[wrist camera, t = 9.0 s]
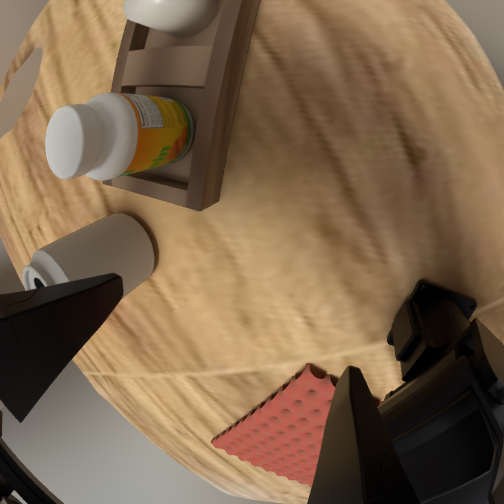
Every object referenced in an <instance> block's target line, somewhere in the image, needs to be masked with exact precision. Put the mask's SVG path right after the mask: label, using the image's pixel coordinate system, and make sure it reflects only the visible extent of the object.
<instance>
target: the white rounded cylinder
mask: <svg viewBox="0 0 504 504" xmlns="http://www.w3.org/2000/svg"><path fill="white" fill-rule="evenodd" d="M123 10H124V14H125V16H126V18H127V19H129V20H131V21H133V22H136V23H139V24H142V25H145V26H147V27H150V28H153V29H155V30H158V31H160V32H163V33H165V34H168V35H170V36H173V37H176V38H188V37H192V36H194V35H196V34H198V33H200V32H202V31H203V30H204V29H206V28H207V27H208V26H209V25H210V24H211V22H212V21H213V20H214V18H215V16H216V14H217V11H218V1H217V0H125V1H124V6H123Z"/></svg>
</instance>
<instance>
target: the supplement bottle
mask: <svg viewBox="0 0 504 504" xmlns="http://www.w3.org/2000/svg"><path fill="white" fill-rule="evenodd" d="M193 133H194V125H193V120H192V117H191V114H190V112H189V111H188V109H187V108H186V107H185V106H184V105H183V104H182V103H181V102H179V101H177V100H175V99H171V98H166V97H158V96H149V95H139V94H125V93H102V94H99V95H96V96H94V97H92V98H91V99H89V100H88V101H87V102H86V103H85V104H76V105H66V106H62V107H61V108H59V109H58V110H57V111H56V112H55V113H54V114H53V116H52V118H51V119H50V122H49V124H48V128H47V132H46V139H45V148H46V156H47V160H48V163H49V166H50V168H51V170H52V171H53V173H54V174H55V175H56V176H57V177H59V178H61V179H70V178H74V177H78V176H81V175H84V174H85V175H86V176H88V177H90V178H92V179H94V180H98V181H105V180H110V179H114V178H117V177H121V176H124V175H128V174H132V173H136V172H140V171H144V170H148V169H152V168H157V167H161V166H166V165H169V164H172V163H174V162H176V161H178V160H179V159H181V158H182V157H183V156H184V155H185V153H186V152H187V151H188V149H189V147H190V145H191V142H192V139H193Z"/></svg>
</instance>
